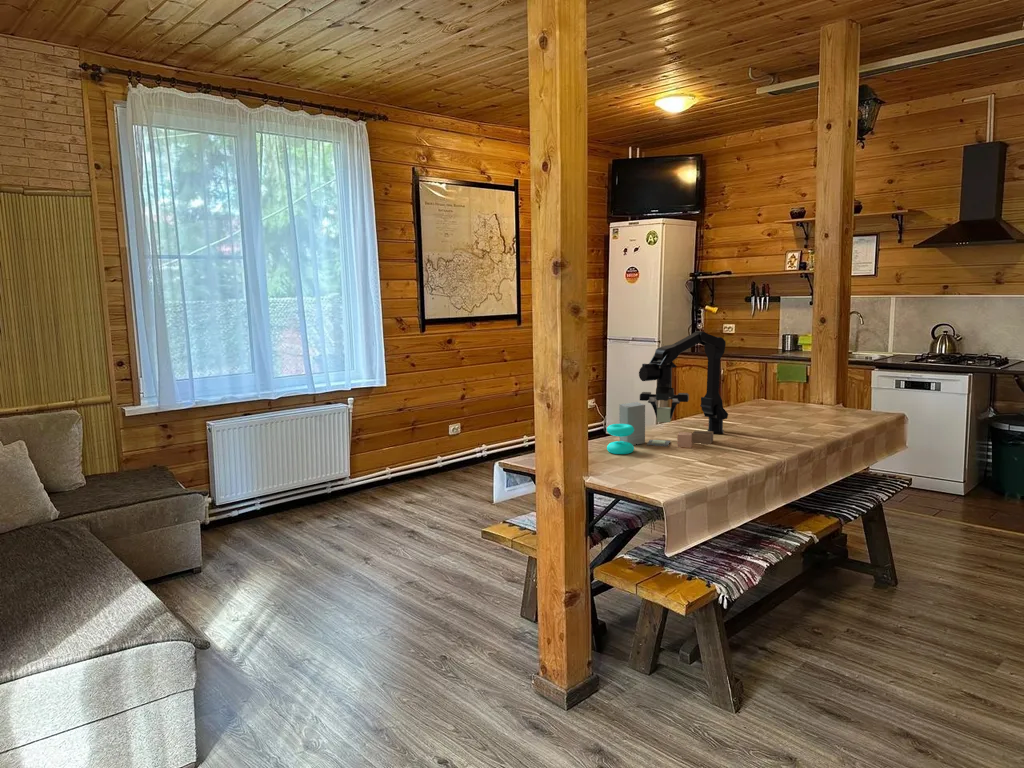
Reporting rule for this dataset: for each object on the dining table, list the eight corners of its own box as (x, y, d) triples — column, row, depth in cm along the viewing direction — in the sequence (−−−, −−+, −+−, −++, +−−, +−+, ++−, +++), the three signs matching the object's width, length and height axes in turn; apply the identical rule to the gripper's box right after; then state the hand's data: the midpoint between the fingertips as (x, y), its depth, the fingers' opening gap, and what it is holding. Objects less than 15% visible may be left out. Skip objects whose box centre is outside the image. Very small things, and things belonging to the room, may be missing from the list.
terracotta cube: (678, 444, 273) (678, 432, 272) (691, 445, 271) (692, 432, 271) (677, 447, 268) (677, 434, 268) (690, 448, 267) (691, 435, 266)
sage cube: (658, 419, 285) (658, 407, 284) (671, 420, 283) (671, 407, 283) (656, 421, 280) (656, 409, 280) (669, 422, 279) (669, 409, 278)
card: (649, 441, 280) (649, 439, 280) (670, 442, 277) (670, 440, 277) (646, 445, 272) (646, 443, 272) (668, 446, 270) (668, 444, 270)
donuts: (602, 426, 260) (613, 422, 268) (602, 453, 261) (613, 448, 269) (628, 429, 255) (638, 424, 263) (628, 456, 256) (637, 450, 264)
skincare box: (636, 440, 281) (636, 401, 279) (646, 444, 274) (646, 404, 272) (618, 443, 278) (618, 403, 276) (627, 446, 271) (627, 405, 269)
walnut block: (695, 440, 281) (695, 430, 280) (713, 441, 278) (713, 431, 277) (691, 443, 275) (691, 433, 274) (710, 445, 272) (710, 435, 271)
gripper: (637, 381, 275) (637, 421, 277) (686, 382, 269) (686, 422, 271) (641, 378, 286) (641, 416, 288) (689, 378, 280) (688, 417, 282)
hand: (664, 418), depth 282 cm, fingers closed on sage cube, 5 cm apart
